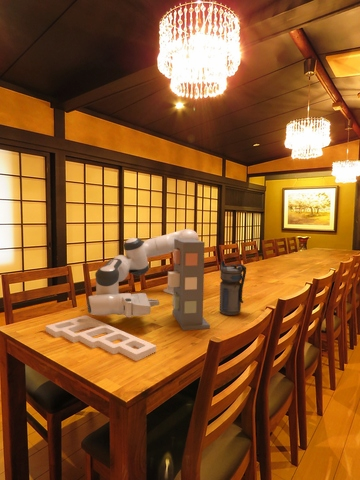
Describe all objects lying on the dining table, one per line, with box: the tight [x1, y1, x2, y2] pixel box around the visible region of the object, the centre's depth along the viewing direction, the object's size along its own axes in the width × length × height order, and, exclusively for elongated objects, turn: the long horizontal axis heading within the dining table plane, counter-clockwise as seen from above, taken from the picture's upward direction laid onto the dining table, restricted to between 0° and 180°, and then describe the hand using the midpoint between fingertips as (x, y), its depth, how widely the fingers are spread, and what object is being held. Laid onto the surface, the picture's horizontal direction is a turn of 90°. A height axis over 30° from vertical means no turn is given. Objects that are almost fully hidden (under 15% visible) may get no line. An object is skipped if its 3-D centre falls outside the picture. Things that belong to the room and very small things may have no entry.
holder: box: [45, 314, 157, 362], centre depth 110 cm, size 45×18×3 cm, turn 48°
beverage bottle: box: [219, 260, 247, 316], centre depth 143 cm, size 10×13×25 cm
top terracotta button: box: [172, 249, 180, 264], centre depth 130 cm, size 6×6×6 cm
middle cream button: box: [167, 271, 180, 287], centre depth 130 cm, size 6×6×6 cm
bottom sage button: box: [172, 293, 179, 310], centre depth 131 cm, size 6×6×6 cm
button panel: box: [172, 239, 211, 331], centre depth 132 cm, size 12×22×36 cm, turn 13°
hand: (158, 302), depth 129 cm, fingers closed
